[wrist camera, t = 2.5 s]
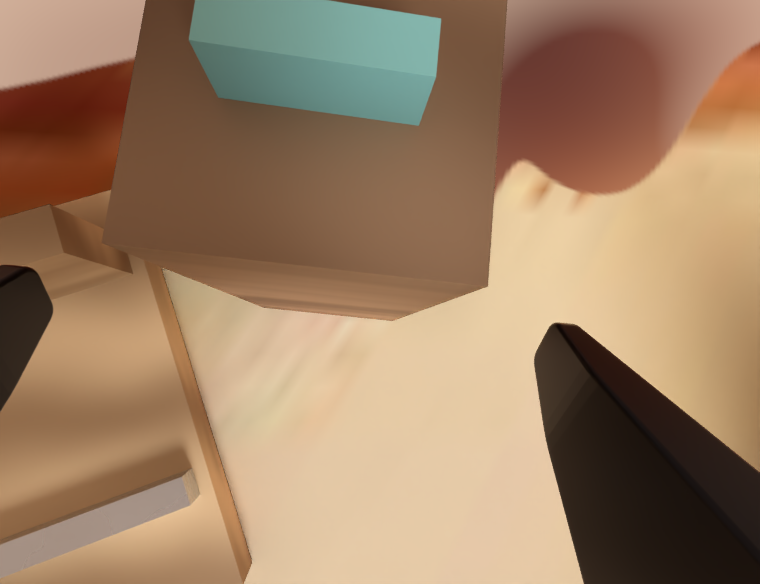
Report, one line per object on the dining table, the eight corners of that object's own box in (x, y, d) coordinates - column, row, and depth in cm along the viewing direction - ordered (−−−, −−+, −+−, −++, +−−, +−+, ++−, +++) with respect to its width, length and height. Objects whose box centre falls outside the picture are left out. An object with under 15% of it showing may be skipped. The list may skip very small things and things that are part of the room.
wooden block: (392, 320, 18) (522, 274, 5) (263, 307, 18) (39, 218, 5) (404, 198, 19) (545, -125, 6) (280, 183, 18) (125, -205, 5)
